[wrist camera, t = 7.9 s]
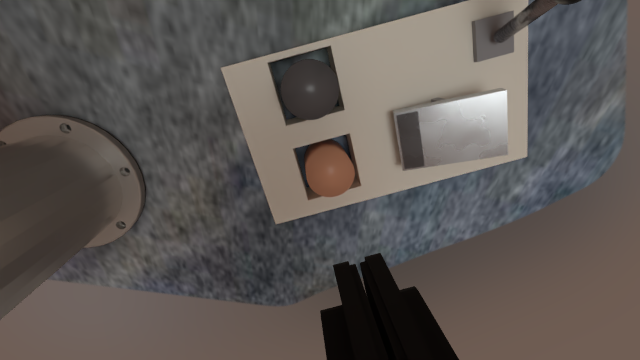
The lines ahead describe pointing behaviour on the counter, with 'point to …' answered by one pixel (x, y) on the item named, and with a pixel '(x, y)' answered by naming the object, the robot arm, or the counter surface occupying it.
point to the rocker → (453, 130)
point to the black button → (309, 89)
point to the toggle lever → (527, 18)
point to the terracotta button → (328, 168)
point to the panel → (383, 100)
